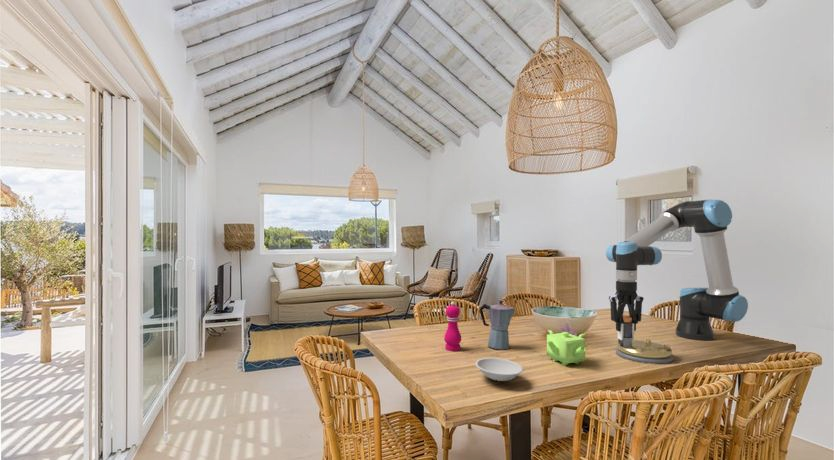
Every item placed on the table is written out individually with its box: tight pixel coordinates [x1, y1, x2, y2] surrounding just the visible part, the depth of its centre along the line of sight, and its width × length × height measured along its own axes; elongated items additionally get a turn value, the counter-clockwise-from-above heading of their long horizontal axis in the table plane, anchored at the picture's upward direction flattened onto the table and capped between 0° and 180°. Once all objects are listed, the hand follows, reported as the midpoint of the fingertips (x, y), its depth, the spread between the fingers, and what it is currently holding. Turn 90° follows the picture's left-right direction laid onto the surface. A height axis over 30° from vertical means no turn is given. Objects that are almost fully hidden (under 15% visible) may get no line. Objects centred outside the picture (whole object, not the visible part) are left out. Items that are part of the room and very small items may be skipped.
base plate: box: [615, 347, 674, 365], centre depth 164 cm, size 20×20×2 cm
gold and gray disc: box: [616, 338, 673, 359], centre depth 164 cm, size 19×19×6 cm
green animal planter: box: [546, 329, 587, 366], centre depth 156 cm, size 15×14×11 cm
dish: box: [475, 357, 524, 382], centre depth 137 cm, size 18×14×5 cm
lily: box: [558, 320, 577, 336], centre depth 178 cm, size 12×12×10 cm
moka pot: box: [479, 300, 517, 351], centre depth 175 cm, size 10×15×20 cm, turn 78°
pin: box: [620, 314, 632, 347], centre depth 164 cm, size 4×4×12 cm
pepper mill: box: [443, 301, 462, 352], centre depth 173 cm, size 7×7×20 cm
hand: (625, 338), depth 164 cm, fingers closed on pin, 4 cm apart
